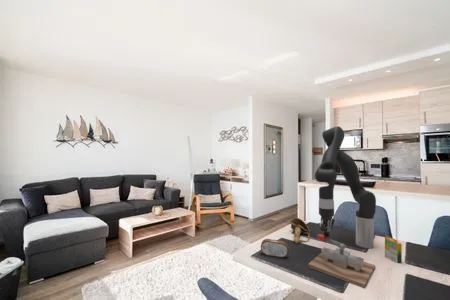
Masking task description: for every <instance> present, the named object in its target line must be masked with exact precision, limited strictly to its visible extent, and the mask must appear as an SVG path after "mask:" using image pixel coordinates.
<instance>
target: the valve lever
mask: <svg viewBox="0 0 450 300" xmlns="http://www.w3.org/2000/svg"><path fill="white" fill-rule="evenodd" d="M316 239H317V240H318V241H322V242H325V243H329V244H331V245H333V246H336V247H338V249H340V252H344V250H345V249H346V243H343V242H339V241H337V240H334V239H332V238H329V237H327V236H324V234H321V233H320V234H316Z"/></svg>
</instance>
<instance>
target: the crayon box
mask: <svg viewBox="0 0 450 300" xmlns="http://www.w3.org/2000/svg"><path fill="white" fill-rule="evenodd" d="M402 248H403V245H402V243H401V242H398V240H397V239H395V238H393V237H391V236H388V235H384V258H386V259H389V260H390V261H392V262H394V263H396V264H401V263H403V261H402V257H403V254H402V253H403V249H402Z"/></svg>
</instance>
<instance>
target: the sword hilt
mask: <svg viewBox="0 0 450 300" xmlns="http://www.w3.org/2000/svg"><path fill="white" fill-rule="evenodd" d="M288 223H289V224H290V228H291V230H292V232H293V231H294V237H293V242H294V244H295V245H298V244H299V243H302V242H303V243H307V242H309V241H310V238H311V234H310V233H311V231H310V228H309V226H308V225H307V224H306V222H305V221H304V220H303V219H302V218H298V217H294V218H293V219H291V220H290V221H289V222H288ZM301 234H302V235H307V240H303V239H300V235H301Z"/></svg>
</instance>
